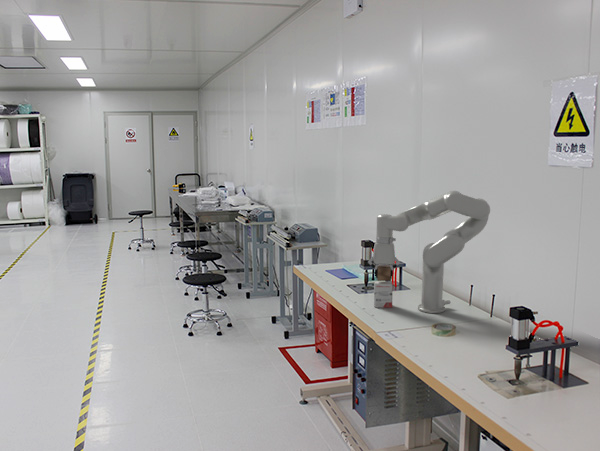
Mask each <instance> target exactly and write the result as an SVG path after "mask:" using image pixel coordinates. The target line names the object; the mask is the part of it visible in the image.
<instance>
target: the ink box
mask: <svg viewBox="0 0 600 451" xmlns="http://www.w3.org/2000/svg"><path fill="white" fill-rule="evenodd" d="M373 283H374V284H373V286H374V287H373V301H374V302H373V306H374V308H390V309H391V308H393V282H392V281H373Z"/></svg>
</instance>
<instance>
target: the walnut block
mask: <svg viewBox="0 0 600 451" xmlns="http://www.w3.org/2000/svg"><path fill="white" fill-rule="evenodd" d="M377 270H378V278H376V280H377V282H391V279H392V276H391V268H390V265H378V268H377Z"/></svg>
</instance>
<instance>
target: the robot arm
mask: <svg viewBox="0 0 600 451" xmlns="http://www.w3.org/2000/svg"><path fill="white" fill-rule="evenodd" d="M451 212H454V213H456V214H458V215H459V214H460V215H462V216H465V217H467V218H466V219H465V220H463V221H461V223H459V224H458V225H456V226H455V227H453V228H452V229H450V230H449V231H447V232H446V233H445V234H443V236H442V238H441V239H439V240H438V241H437V242H431V243H427V245H425V247H424V248H423V250H422V272H421V273H422V274H421V275H422V278H421V303H420V304H419V305H417V309H418V310H419V311H420V312H424V313H428V314H442V313H444V312H446V307H445V306H446V305H451V300H449V299H448V300H446V299H443V293H444V291H443V289H444V288H443V287H444V269H445V268H444V267H445V266H444V265H445V263H447V262H449V261H450V260H451V259H453V258H455V257H456V256H457V255H458V254H460V253H461V252H462V251H463V250H464V248H465V247H466V246H465V245H466V244H467V243H468V242H469V241H471V240H473V238H475V237H476V236H478V235H479V234H480V233H482V231H483V230H484V228H485V227H486V226H487V224H488V220H489V216H490V213H491V206H490V205H489V203H488V201H486V200H485V199H483V198H474V197H473V196H472V197H471V196H468V195H466V194H463V193H462V192H460V191H457V190H451V191H449V192H445V193H444V194H441V195H438V196H436V197H434V198H432V199H430V200H427V201H425V202H422V203H421V204H419V205H416V206H414V207H411V208H409V209H407V210H404V211H402V212H400V213H398V214H396V215H391V214H385V213H384V214H383V213H382V214H381V213H380V214H378V215H377V217H376V242H374V246H373V252H372V256H371V258H369V259H368V261H367V264H369V265H370V266H371V267H372V269H373V270H374V277H375V278H376V279H377V278H378V270H377V268H378V266H380V265H385V266H390V268H391V277H393V276H394V270H395V269H396V268H397V267H398V266H399V265H400V264H401V262H400V260H399V259H398V258H397V257H396V251H395V243H394V242H396V240H397V239H396V238H395V237H393V236H394V235H393V231H395V232H405V231H406V230H407V229H409V227H410V226H413V225H415V224H417V223H420V222H423V221H428V220H429V221H430V220H434V219H436V218H438V217H439V218H440V217H442V216H443V215H446V214H448V213H451Z"/></svg>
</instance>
